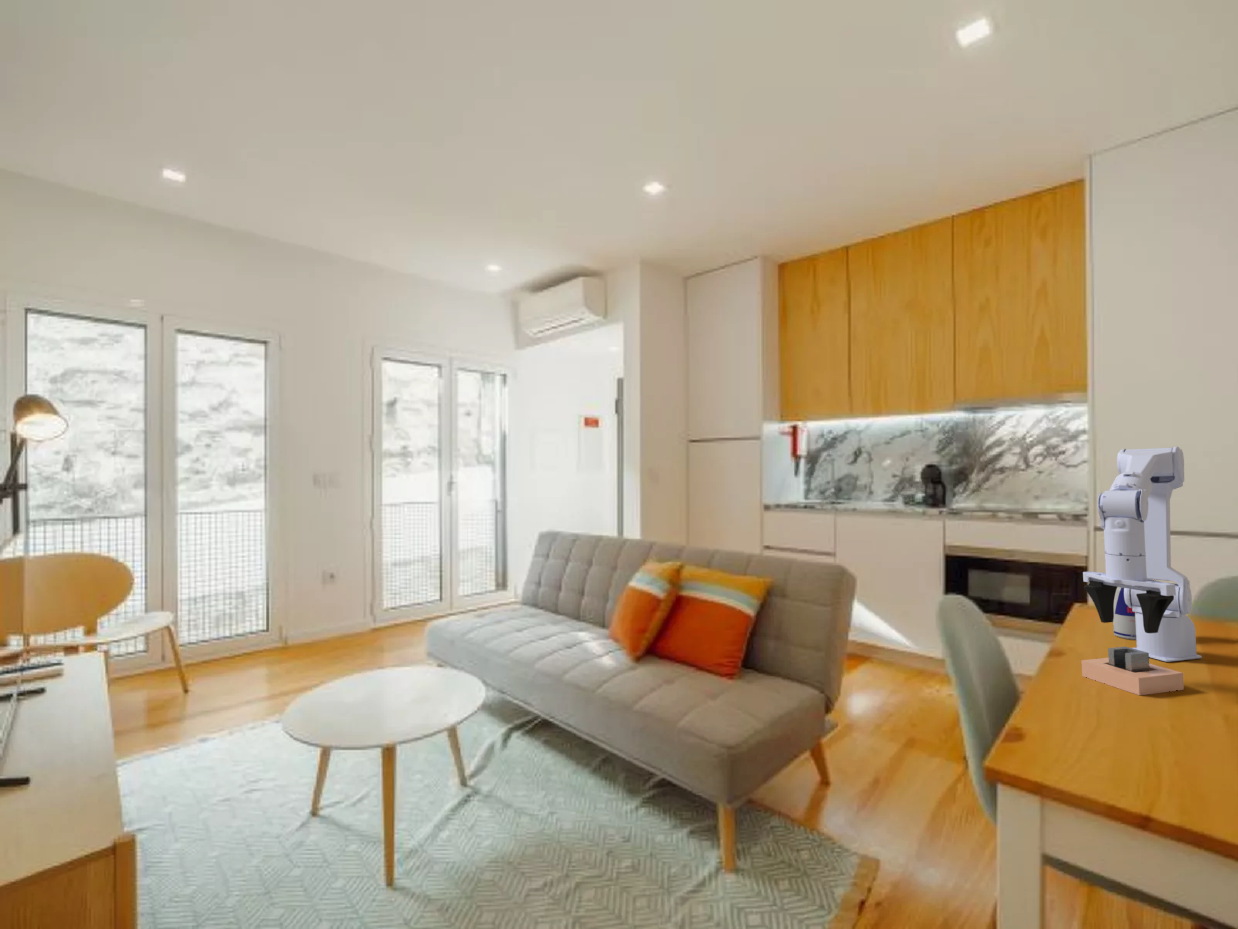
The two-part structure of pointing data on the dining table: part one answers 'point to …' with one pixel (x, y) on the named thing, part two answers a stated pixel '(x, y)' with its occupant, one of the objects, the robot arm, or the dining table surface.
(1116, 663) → the bracket
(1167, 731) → the dining table surface
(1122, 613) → the energy drink
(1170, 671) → the well
